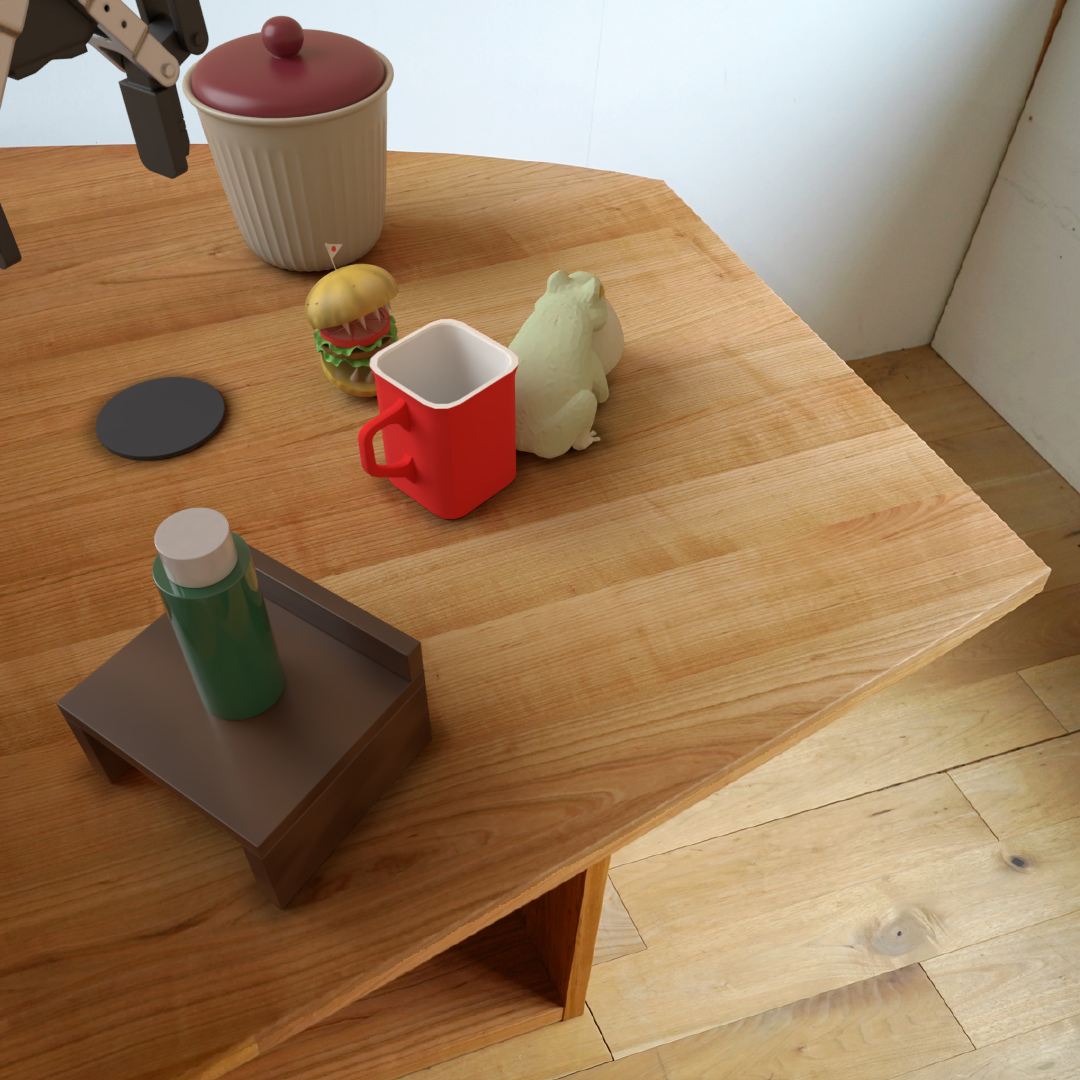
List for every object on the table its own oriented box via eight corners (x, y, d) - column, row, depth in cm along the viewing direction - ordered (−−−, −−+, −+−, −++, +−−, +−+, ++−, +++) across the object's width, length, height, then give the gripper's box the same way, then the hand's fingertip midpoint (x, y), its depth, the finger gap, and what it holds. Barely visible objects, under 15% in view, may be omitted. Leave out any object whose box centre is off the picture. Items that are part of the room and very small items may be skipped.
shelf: (282, 910, 55) (247, 823, 48) (94, 771, 61) (40, 676, 54) (432, 738, 63) (421, 641, 56) (253, 629, 68) (223, 529, 62)
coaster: (156, 477, 78) (155, 473, 78) (69, 429, 82) (68, 425, 82) (251, 408, 84) (250, 404, 84) (166, 366, 88) (165, 362, 88)
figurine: (649, 361, 89) (660, 257, 82) (577, 480, 79) (583, 373, 71) (541, 332, 92) (542, 230, 85) (458, 444, 81) (451, 337, 74)
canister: (413, 198, 108) (394, -20, 93) (403, 294, 96) (380, 61, 81) (239, 199, 108) (191, -20, 93) (206, 296, 95) (146, 62, 80)
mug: (454, 425, 83) (446, 313, 75) (529, 474, 79) (529, 360, 71) (336, 501, 77) (315, 386, 69) (411, 557, 73) (397, 443, 65)
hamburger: (360, 420, 83) (340, 291, 75) (299, 385, 86) (273, 257, 78) (426, 375, 87) (414, 248, 79) (366, 343, 91) (348, 217, 82)
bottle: (242, 735, 54) (189, 584, 46) (181, 694, 56) (119, 541, 48) (303, 676, 57) (263, 523, 48) (242, 639, 59) (194, 485, 50)
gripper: (34, -331, 36) (155, 126, 48) (-407, -271, 28) (-129, 264, 39) (187, -311, 33) (276, 169, 45) (-252, -238, 25) (-2, 328, 37)
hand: (87, 213), depth 42 cm, fingers open, 8 cm apart
